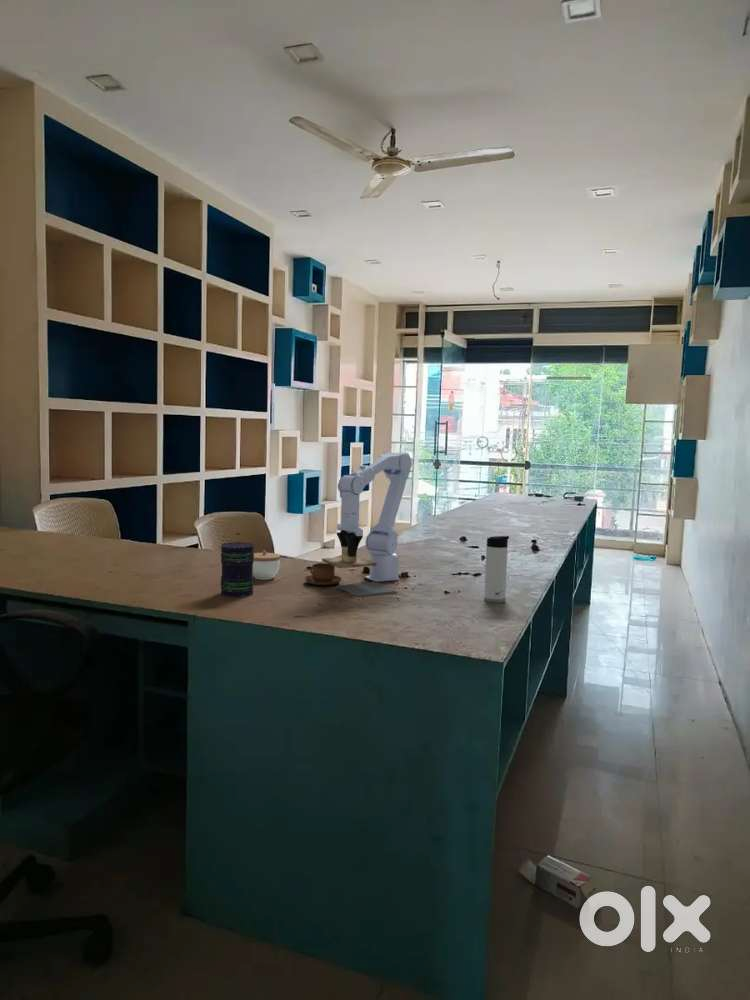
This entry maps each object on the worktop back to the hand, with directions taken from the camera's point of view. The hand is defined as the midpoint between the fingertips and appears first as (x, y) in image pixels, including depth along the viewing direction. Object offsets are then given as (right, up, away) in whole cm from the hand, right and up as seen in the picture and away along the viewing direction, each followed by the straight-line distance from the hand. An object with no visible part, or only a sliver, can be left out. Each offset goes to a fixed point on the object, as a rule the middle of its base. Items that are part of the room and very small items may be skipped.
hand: (349, 555), depth 219 cm
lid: (0, -3, 0) cm, 3 cm away
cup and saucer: (-9, -10, +6) cm, 15 cm away
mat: (+6, -11, -2) cm, 12 cm away
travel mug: (+45, -13, -12) cm, 48 cm away
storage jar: (-34, -11, -12) cm, 37 cm away
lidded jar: (-29, -9, +12) cm, 33 cm away
